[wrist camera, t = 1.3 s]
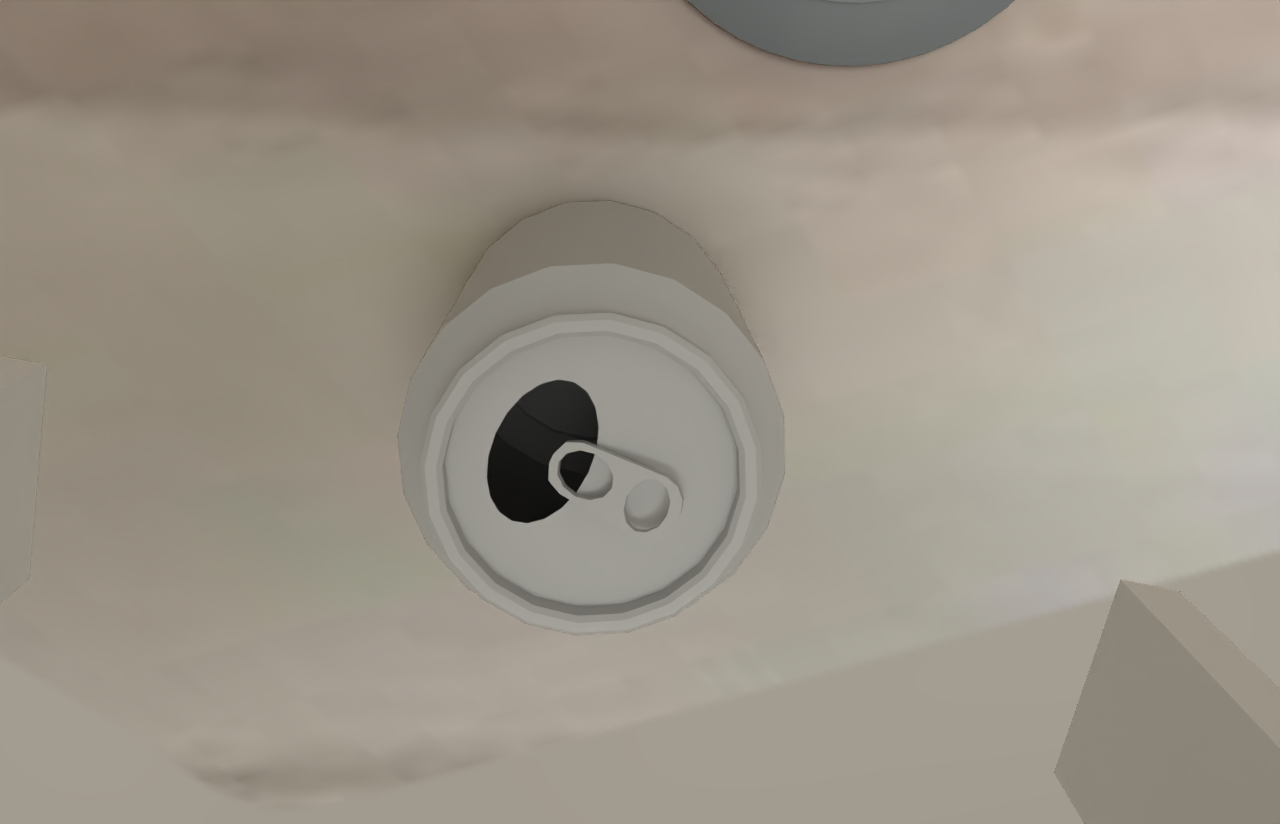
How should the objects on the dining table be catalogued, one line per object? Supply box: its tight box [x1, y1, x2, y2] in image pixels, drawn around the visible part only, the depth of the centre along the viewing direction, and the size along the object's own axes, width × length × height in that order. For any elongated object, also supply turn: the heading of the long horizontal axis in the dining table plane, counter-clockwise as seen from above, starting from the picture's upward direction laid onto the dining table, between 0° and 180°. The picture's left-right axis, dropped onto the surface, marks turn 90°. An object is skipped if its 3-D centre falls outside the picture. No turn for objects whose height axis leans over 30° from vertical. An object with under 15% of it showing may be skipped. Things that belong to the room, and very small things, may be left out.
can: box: [398, 201, 785, 635], centre depth 28 cm, size 8×8×12 cm
